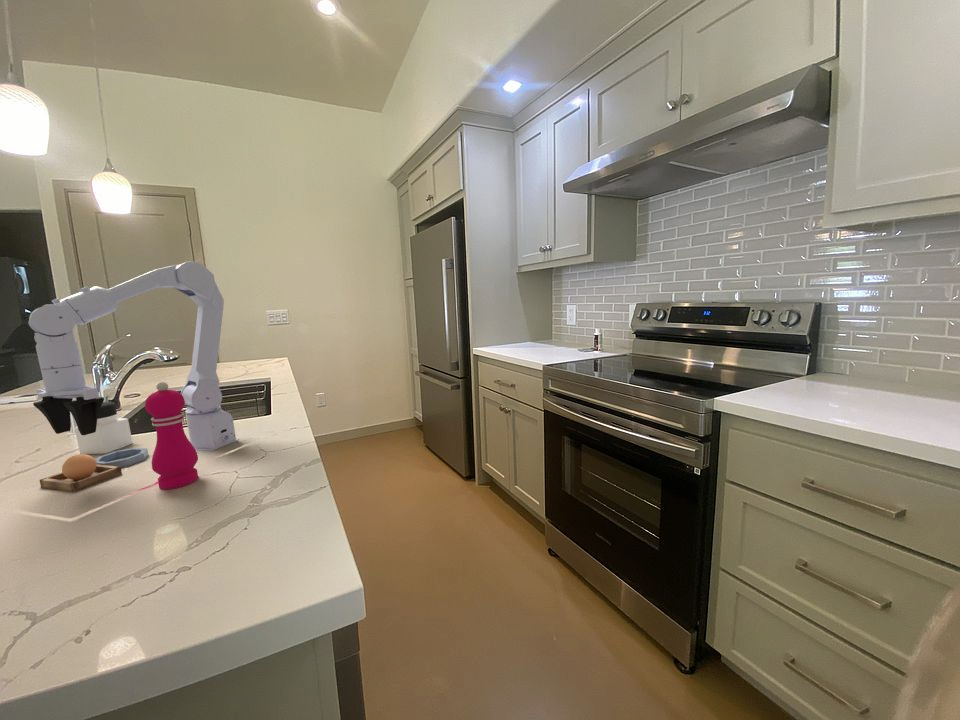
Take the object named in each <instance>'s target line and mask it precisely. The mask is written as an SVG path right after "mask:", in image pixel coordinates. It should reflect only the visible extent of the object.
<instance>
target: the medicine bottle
mask: <svg viewBox="0 0 960 720" xmlns="http://www.w3.org/2000/svg"><path fill="white" fill-rule="evenodd" d="M116 406H117V405H116V403H115V402H112V401H104V402H103V403H102V405H101V407H100V410H99V413H98V418H97V426H96V432H95V433H91V434H87V435H81V434H80V432H79V430H78V427H77V426H76V427H75V428H74V431H75V436H76V442H77V446H78V451H79V454H86V455H93V454H94V455H95V454H96V455H97V454H104V455H106V454H109V453H112V452H115V451H117V450H118V449H121V448H124V447H126V446H129V445H132V444H133V437H132V433H131V428H130V422H129V419H128V418H126V417H125V418H122V417H121V418H118V411H117V407H116Z"/></svg>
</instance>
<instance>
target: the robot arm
mask: <svg viewBox="0 0 960 720" xmlns="http://www.w3.org/2000/svg"><path fill="white" fill-rule="evenodd" d="M156 288H158V289H159V288H160V289H161V288H162V289H171V288H174V289H175V290H177V291H178V292H180V293H181V294H184V295H186V296H188V297H189V299H191V300H192V302H193V303H195V304H196V306H197V313H196V314H197V315H196V322H195V323H196V324H195V331H194V332H195V333H194V341H193V349H192V358H191V368H190V371H189V373H188V375H187V377H186V382H185V384H184V386H183V388H181V391H180V393H181V394H182V396H183V397H184V400H185V405H186V410H185V411H184V412H185V418H186V423H187V424H186V425H187V431H188V435H189V441H190V443H191V444H192V445H193V446H194V448H195V450H196V451H206V452H212V451H215V450H217V449H219V448H222V447H225V446H227V445H230V444H232V443H235V442H237V441H239V440H240V439H239V438H236V437H237V436H236V431H235V425H234V424H235V423H234V418H233V416H232V415H231V413H230V412H228V411H225V410H223V409H222V408H221V403H222V401H223V394H222V391H221V388H220V378H219V377H218V373H217V368H218V359H219V349H220V340H221V332H222V322H223V313H224V304H225V299H224V297H223V294H222V293H221V291H220V289H219V287H218V285H217V282H216V281H215V275H214V273H213V272H212V271H210V270H209V269H208V268H207V267H206V266H205V265H204V264H202V263H200V262H198V261H194V260H188V261H185V262H183V263H181V264H174V265H170V266H165V267H161V268H157V269H153V270H151V271H148V272H146V273H144V274H141V275H139V276H136V277H133V278H131V279H129V280H127V281H125V282H122V283H120V284H117V285H115V286H113V287H110V288H104V287H100V286H96V285H95V286H92V287H89V286H87V285H86V286H84V287H82V288H80V289H79V291H80V292H76V293H75V294H72V295H68V296H67V297H63V298H61V299H60V298H58V297H57V298H54V299H52V300H51V303H52V304H51V303H50V304H49V303H48V304H43V305H42V306H41V307H37V308H35V309H34V310H33V311H32V312H31V313H30V314H29V319H28V322H27V324H28V326H29V327H30V328H31V329H32V330H33V332H34V336H33V337H34V341H35V343H36V345H35V350H36V353H37V359H38V363H39V368H40V373H41V375H42V376H41V377H42V381H43V386H44V387H43V388H37V389H36V394H37V398H38V399H41V400H39V401H34V402H32V403H33V406H34V408H36V409H38V410H39V411H40V412H41V414H42V415H43V416H44V417H45V418H46V420H47V421H48V423H49V425H50V426H51V428H52V430H53V431H54V433H55V434H58V435H59V434H63V433H66V432H70V431H71V429H72V422H71V421H72V420H71V416H72V417H73V419H74V421H75V423H76V427H78V430H79V432H80V434H81V435H87V434H91V433H95V432H96V426H97V418H98V413H99V410H100V407H101V405H102V403H103V402H105V397H104V396H100V395H99V391H98V387H92V386H90V385H86V380H85V375H84V370H83V365H82V361H81V356H80V352H79V351H80V350H79V346H78V342H77V341H76V339H75V335H74V331H73V330H74V328H75V326H76V325H78V326H83V325H86V324H88V323H91V322H93V321H95V320H98V319H100V318H103V317H105V316H107V315H109V314H112V313H114V312H116V311H117V309H118V304H119V303H120V302H122V301H125V300H129V299H130V298H132V297H133V298H134V297H136V296H138V295H140V294H141V295H142V294H143V293H145V292H148V291H151V290H154V289H156ZM73 399H75V400H73Z"/></svg>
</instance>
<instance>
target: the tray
mask: <svg viewBox="0 0 960 720" xmlns="http://www.w3.org/2000/svg"><path fill="white" fill-rule="evenodd" d="M122 474H123V472H122V467H117V466H107V465H98V464H97V467H96V470H95V471H94V473H93V474H92V475H90V476H89V477H87V478H84V479H81V480H72V479H69V478H67V477H66V476H64V474H63V472H62V471H61V472H58V473H56V474H52V475H50V476H46V477H44V478H41V479H39V485H40V488H43V489H44V488H45V489H50V490H59V491H67V492H74V493H75V492H76V493H77V492H78V491H80V490H83V489H86V488H89V487H92V486H93V485H96V484H99V483H103V482H104V481H107V480H110V479H113V478H115V477H118V476H120V475H122Z"/></svg>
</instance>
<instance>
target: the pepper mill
mask: <svg viewBox="0 0 960 720" xmlns="http://www.w3.org/2000/svg"><path fill="white" fill-rule="evenodd" d="M156 390H157V391H154V392H152V393H151V394H149V395H148V397H147V398H146V399H145V404H144V407H145V411H146V412H147V413H148V414H149V415H151V416H152V417H151V418H150V421H151V426H152V427H153V426H154V428H155V431H156V443H155V447H154V450H153V453H152V457H151V468H152V471H153V472H154V473H156V474H157V475H159V476H158V478H157V483H158V488H159V489H161V490H173V489H179V488H182V487H185V486H188V485H190V484H192V483H193V484H194V482H196V481H197V480H198V479H199V474H198V468H196V467H195V465H196V464H197V463H198V460H199V456H198V452H197V450H195V448H194V446H193V445H192V444H191V443H190V439H189V438H188V437H187V435H186V433H185V430H184V425H183V423H184V422H183V421H185V417H184V415H185V414H184V412H182V410H183V409H184V407H185V405H186V404H185V400H184V397H183V396H182V394H181V392H179V391H177V390H174V389H169V385H168V382H165V381H161V382H158V383H157V384H156Z"/></svg>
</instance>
